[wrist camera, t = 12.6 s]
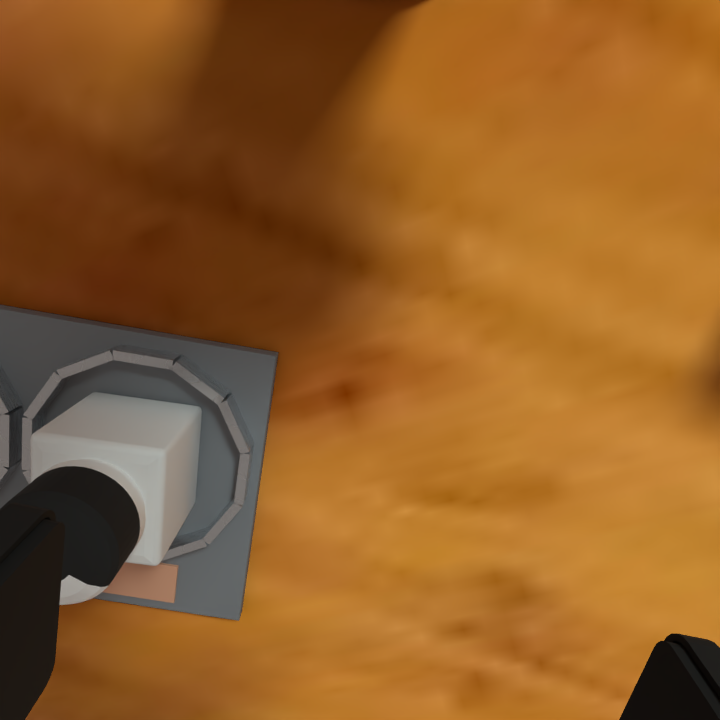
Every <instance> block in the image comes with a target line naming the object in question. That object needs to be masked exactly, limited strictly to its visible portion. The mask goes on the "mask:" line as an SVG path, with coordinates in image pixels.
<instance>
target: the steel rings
mask: <svg viewBox="0 0 720 720" xmlns="http://www.w3.org/2000/svg"><path fill="white" fill-rule="evenodd" d="M112 360H117V361H123V362H129V363H134V364H140V365H146V366H152V367H158V368H164V369H170V370H172V371H174V372H175V373H176V374H178V375H179V376H180V377H182V378H183V379H184V380H186V381H187V382H188V383H189V384H191V385H192V386H193V387H195V388H196V389H197V390H199V391H200V392H201V393H203V394H204V395H205V396H207V397H208V398H209V399H211V400H212V401H213V402H215V403H216V404H217V405H218V406H219V408H220V411H221V413H222V415H223V417H224V419H225V422H226V424H227V426H228V428H229V430H230V433H231V435H232V437H233V439H234V441H235V444H236V446H237V448H238V450H239V452H240V460H239V468H238V475H237V483H236V491H235V497H234V498H233V499H232V500H231V501H230V502H229V504H228V505H227V506H226V507H225V508H224V509H223V510H222V512H221V513H220V514H219V515H218V516H217V517H216V518H215V520H214V521H213V522H212V523H211V524H210V525H209V526H208V527H205V528H202V529H199V530H196V531H193V532H190V533H187V534H184V535H181V536H178V537H175V539H174V540H173V542H172V544H171V546H170V547H169V549H168V551H167V552H166V554H165V556H164V558H163V559H162V561H163V560H166V559H169V558H172V557H175V556H179V555H182V554H185V553H188V552H191V551H194V550H197V549H200V548H203V547H206V546H207V545H208V544H209V545H210V543H211V542H212V541H213V540H214V539H215V538H216V537H217V535H218V534H219V533H220V532H221V531H222V530H223V529H224V527H225V526H226V525H227V524H228V523H229V522H230V521H231V519H232V518H233V517H234V516H235V515H236V514H237V513H238V512H239V510H240V509H241V508H242V506H243V504H244V502H245V499H246V497H247V494H248V488H249V481H250V474H251V466H252V459H253V451H254V445H253V443H254V441H253V439H252V437H251V434H250V432H249V430H248V428H247V425H246V423H245V421H244V419H243V416H242V414H241V412H240V410H239V407H238V405H237V403H236V401H235V399H234V396H233V394H232V393H230V394H228V393H229V391H230V390H229V389H227V388H226V387H225V386H223V385H222V384H221V383H220V382H218V381H217V380H216V379H214V378H213V377H212V376H210V375H209V374H208V373H206V372H205V371H204V370H202V369H201V368H200V367H199V366H197V365H196V364H195V363H193V362H192V361H191V360H189V359H188V358H187V357H185V356H182V357H181V354H178V353H172V352H166V351H160V350H154V349H148V348H142V347H136V346H131V345H125V344H123V345H118V346H115V347H112V348H110V349H107V350H104V351H101V352H99V353H96V354H93V355H91V356H88V357H85V358H82V359H80V360H77V361H74V362H72V363H69V364H67V365H65V366H63V367H61V368H60V369H58V370H57V371H55V372H54V373H53V374H52V375H51V377H50V378H49V380H48V381H47V382H46V384H45V385H44V387H43V388H42V389H41V391H40V392H39V393H38V395H37V396H36V398H35V399H34V400H33V402H32V403H31V405H30V406H29V407H28V409H27V410H26V412H25V413H24V407H22V406H20V405H22V404H23V403H22V401H21V400H20V398H19V396H18V394H17V392H16V391H15V389H14V387H13V385H12V383H11V382H10V380H9V378H8V376H7V374H6V373H5V371H4V369H3V367H2V365H1V364H0V489H1V487H2V486H3V485H4V483H5V482H6V481H7V479H8V478H9V477H10V475H11V474H12V473H13V471H14V470H15V468H16V467H17V466H18V464H19V463H20V462H21V460H22V470H25V471H23V472H22V473H23V474H24V476H25V478H26V480H27V481H28V483H29V484H30V483H31V446H30V439H31V436H32V434H33V433H35V432H36V431H37V430H39V429H40V428H42V427H43V426H45V411H46V410H47V408H48V407H49V406H50V404H51V403H52V402H53V400H54V399H55V397H56V396H57V395H58V393H59V392H60V391H61V389H62V388H63V386H64V385H65V384H66V382H67V381H68V380H69V378H70V377H71V376H72V375H74V374H76V373H79V372H82V371H85V370H87V369H90V368H93V367H95V366H98V365H101V364H104V363H106V362H109V361H112ZM227 394H228V395H227ZM23 413H24V414H23ZM23 415H25V416H24V417H23ZM21 458H22V459H21Z"/></svg>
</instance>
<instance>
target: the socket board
mask: <svg viewBox="0 0 720 720" xmlns="http://www.w3.org/2000/svg"><path fill="white" fill-rule="evenodd" d="M123 344H125V345H131V346H136V347H142V348H148V349H154V350H160V351H166V352H172V353H178V354H181V357H182V356H185V357H187V358H188V359H189V360H191V361H192V362H193V363H195V364H196V365H197V366H199V367H200V368H201V369H202V370H204V371H205V372H206V373H208V374H209V375H210V376H212V377H213V378H214V379H216V380H217V381H218V382H220V383H221V384H222V385H223V386H225V387H226V388H227V389H229V390H230V391H229V393H228V394H230V393H232V394H233V396H234V399H235V401H236V403H237V405H238V407H239V410H240V412H241V414H242V416H243V419H244V421H245V423H246V425H247V428H248V430H249V432H250V434H251V437H252V439H253V441H254V443H253V445H254V451H253V459H252V466H251V474H250V481H249V488H248V494H247V497H246V499H245V502H244V504H243V506H242V508H241V509H240V510H239V512H238V513H237V514H236V515H235V516H234V517H233V518H232V519H231V521H230V522H229V523H228V524H227V525H226V526H225V527H224V529H223V530H222V531H221V532H220V533H219V534H218V535H217V537H216V538H215V539H214V540H213V541H212V542H211V543H210V545H209V544H208V545H207V546H206V547H203V548H200V549H197V550H194V551H191V552H188V553H185V554H182V555H179V556H175V557H172V558H169V559H166V560H163V561H161V563H160V564H158V565H157V566H150V565H142V564H134V563H127V562H125V563H124V564H123V566H122V567H121V569H120V570H119V572H118V573H117V575H116V576H115V578H114V579H113V580H112V582H111V583H110V585H109V586H108V587H107V588H106V589H105V590H104V591H103V592H101V593H100V594H99V595H97V596H96V597H94V598H95V599H101V600H108V601H114V602H121V603H128V604H134V605H141V606H147V607H154V608H160V609H167V610H173V611H180V612H186V613H193V614H199V615H206V616H213V617H219V618H226V619H232V620H239V619H240V616H241V612H242V607H243V600H244V593H245V586H246V579H247V572H248V564H249V557H250V550H251V543H252V536H253V529H254V522H255V515H256V508H257V501H258V494H259V487H260V480H261V473H262V466H263V458H264V451H265V444H266V437H267V430H268V423H269V416H270V409H271V402H272V395H273V388H274V381H275V374H276V367H277V359H278V352H274V351H268V350H262V349H256V348H250V347H245V346H239V345H233V344H227V343H221V342H215V341H210V340H204V339H198V338H192V337H186V336H180V335H175V334H169V333H163V332H157V331H151V330H145V329H140V328H134V327H128V326H122V325H116V324H110V323H105V322H99V321H93V320H87V319H81V318H75V317H69V316H64V315H58V314H52V313H46V312H40V311H34V310H29V309H23V308H17V307H11V306H5V305H0V364H1V365H2V367H3V369H4V371H5V373H6V374H7V376H8V378H9V380H10V382H11V383H12V385H13V387H14V389H15V391H16V392H17V394H18V396H19V398H20V400H21V401H22V403H23V404H22V405H20V406H22V407H24V413H25V412H26V410H27V409H28V407H29V406H30V405H31V403H32V402H33V400H34V399H35V398H36V396H37V395H38V393H39V392H40V391H41V389H42V388H43V387H44V385H45V384H46V382H47V381H48V380H49V378H50V377H51V375H52V374H53V373H54V372H55V371H57V370H58V369H60V368H61V367H63V366H65V365H67V364H69V363H72V362H74V361H77V360H80V359H82V358H85V357H88V356H91V355H93V354H96V353H99V352H101V351H104V350H107V349H110V348H112V347H115V346H118V345H123ZM94 392H99V393H106V394H114V395H121V396H128V397H135V398H143V399H150V400H157V401H165V402H172V403H179V404H186V405H194V406H198V407H200V408H201V410H202V416H201V430H200V444H199V457H198V471H197V485H196V499H195V504H194V505H193V507H192V509H191V511H190V512H189V514H188V516H187V518H186V519H185V521H184V523H183V525H182V526H181V528H180V530H179V532H178V533H177V535H176V537H178V536H181V535H184V534H187V533H190V532H193V531H196V530H199V529H202V528H205V527H208V526H209V525H210V524H211V523H212V522H213V521H214V520H215V518H216V517H217V516H218V515H219V514H220V513H221V512H222V510H223V509H224V508H225V507H226V506H227V505H228V504H229V502H230V501H231V500H232V499H233V498H234V497H235V491H236V483H237V475H238V468H239V460H240V452H239V450H238V448H237V446H236V444H235V441H234V439H233V437H232V435H231V433H230V430H229V428H228V426H227V424H226V422H225V419H224V417H223V415H222V413H221V411H220V408H219V406H218V405H217V404H216V403H215V402H213V401H212V400H211V399H209V398H208V397H207V396H205V395H204V394H203V393H201V392H200V391H199V390H197V389H196V388H195V387H193V386H192V385H191V384H189V383H188V382H187V381H186V380H184V379H183V378H182V377H180V376H179V375H178V374H176V373H175V372H174V371H172V370H170V369H164V368H158V367H152V366H146V365H140V364H134V363H129V362H123V361H117V360H112V361H109V362H106V363H104V364H101V365H98V366H95V367H93V368H90V369H87V370H85V371H82V372H79V373H76V374H74V375H72V376H71V377H70V378H69V380H68V381H67V382H66V384H65V385H64V386H63V388H62V389H61V391H60V392H59V393H58V395H57V396H56V397H55V399H54V400H53V402H52V403H51V404H50V406H49V407H48V408H47V410H46V411H45V425H46V424H48V423H49V422H50V421H52V420H53V419H55V418H56V417H58V416H59V415H61V414H62V413H64V412H65V411H67V410H68V409H69V408H71V407H72V406H74V405H75V404H77V403H78V402H80V401H81V400H83V399H84V398H85V397H87V396H88V395H90V394H91V393H94ZM228 394H227V395H228ZM24 413H23V414H24ZM24 416H25V415H23V417H24ZM21 459H22V458H21ZM23 471H25V470H22V460H21V462H20V463H19V464H18V466H17V467H16V468H15V470H14V471H13V473H12V474H11V475H10V477H9V478H8V479H7V481H6V482H5V483H4V485H3V486H2V487H1V489H0V508H2V507H3V506H4V505H5V504H6V503H7V502H8V501H9V500H11V499H12V498H13V497H14V496H15V495H17V494H18V493H19V492H20V491H21V490H23V489H24V488H25V487H26V486H27V485H29V483H28V481H27V480H26V478H25V476H24V474H23V473H22V472H23Z"/></svg>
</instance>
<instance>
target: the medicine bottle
mask: <svg viewBox="0 0 720 720" xmlns="http://www.w3.org/2000/svg"><path fill="white" fill-rule="evenodd" d="M201 416H202V410H201V408H200V407H198V406H194V405H186V404H179V403H172V402H165V401H157V400H150V399H143V398H135V397H128V396H121V395H114V394H106V393H99V392H94V393H91V394H90V395H88V396H87V397H85V398H84V399H83V400H81V401H80V402H78V403H77V404H75V405H74V406H72V407H71V408H69V409H68V410H67V411H65V412H64V413H62V414H61V415H59V416H58V417H56V418H55V419H53V420H52V421H50V422H49V423H48V424H46V425H45V426H43V427H42V428H40V429H39V430H37V431H36V432H35V433H33V434H32V436H31V439H30V446H31V483H30V484H29V485H27V486H26V487H25V488H24V489H23V490H21V491H20V492H19V493H18V494H17V495H15V496H14V497H13V498H12V499H11V500H9V501H8V502H7V503H6V504H5V505H4V506H3V507H2V508H0V511H1V510H2V509H3V508H4V507H6V506H7V505H9V504H10V503H19V504H24V505H29V506H34V507H40V508H45V509H50V510H52V511H54V513H55V516H56V521H57V522H62V523H64V525H65V540H64V552H63V565H62V578H61V591H60V603H59V605H66V604H76V603H80V602H84V601H87V600H90V599H92V598H94V597H96V596H97V595H99V594H100V593H101V592H103V591H104V590H105V589H106V588H107V587H108V586H109V585H110V583H111V582H112V580H113V579H114V578H115V576H116V575H117V573H118V572H119V570H120V569H121V567H122V566H123V564H124V563H125V562H127V563H134V564H142V565H150V566H157V565H158V564H160V563H161V561H162V559H163V558H164V556H165V554H166V552H167V551H168V549H169V547H170V546H171V544H172V542H173V540H174V539H175V537H176V535H177V533H178V532H179V530H180V528H181V526H182V525H183V523H184V521H185V519H186V518H187V516H188V514H189V512H190V511H191V509H192V507H193V505H194V504H195V499H196V485H197V471H198V457H199V444H200V430H201Z"/></svg>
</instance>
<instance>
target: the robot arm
mask: <svg viewBox="0 0 720 720" xmlns="http://www.w3.org/2000/svg"><path fill="white" fill-rule="evenodd" d="M64 540H65V525H64V523H62V522H57V521H56V516H55V513H54V511H52V510H50V509H45V508H40V507H34V506H29V505H24V504H19V503H10V504H9V505H7V506H6V507H4V508H3V509H2V510H1V511H0V720H25V718H26V717H27V715H28V714H29V712H30V711H31V709H32V707H33V706H34V704H35V703H36V701H37V700H38V698H39V696H40V695H41V693H42V692H43V690H44V688H45V687H46V685H47V683H48V681H49V678H50V676H51V673H52V671H53V667H54V663H55V654H56V642H57V629H58V616H59V603H60V591H61V578H62V565H63V552H64ZM619 720H720V648H719V647H718V646H717V645H716V644H715V643H714V642H712V641H710V640H707V639H702V638H697V637H692V636H687V635H681V634H670V635H669V636H667V637H666V639H665V640H664V641H660V642H658V643H657V644H656V646H655V647H654V649H653V651H652V653H651V655H650V657H649V659H648V661H647V663H646V665H645V668H644V670H643V672H642V674H641V676H640V678H639V680H638V682H637V684H636V686H635V688H634V690H633V692H632V694H631V696H630V699H629V701H628V703H627V705H626V707H625V709H624V711H623V713H622V715H621V717H620V719H619Z"/></svg>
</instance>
